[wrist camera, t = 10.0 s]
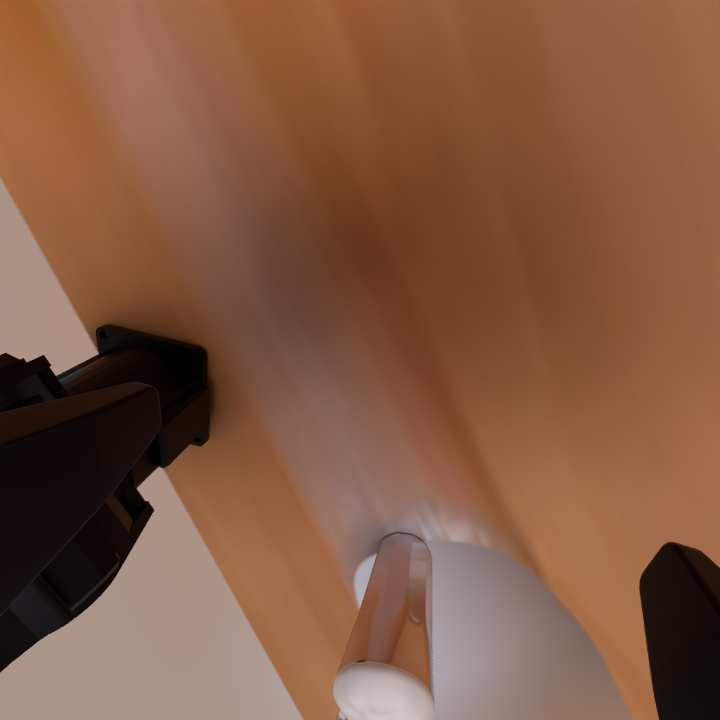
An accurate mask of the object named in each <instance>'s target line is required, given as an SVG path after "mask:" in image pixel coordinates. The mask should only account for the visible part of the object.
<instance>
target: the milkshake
mask: <svg viewBox="0 0 720 720" xmlns="http://www.w3.org/2000/svg"><path fill="white" fill-rule="evenodd" d="M432 618H433V615H432V556H431V553H430V551H429V549H428V546H427V544H426V543H424V542H423V541H421V540H420V539H418V538H417V537H415V536H414V535H408V534H401V533H395V534H393V535H390V536H388V537H386V538H383V540H382V543H381V545H380V548H379V550H378V553H377V556H376V559H375V563H374V566H373V569H372V572H371V575H370V579H369V582H368V585H367V588H366V591H365V595H364V598H363V601H362V604H361V607H360V611H359V614H358V617H357V620H356V622H355V624H354V627H353V629H352V632H351V635H350V638H349V641H348V643H347V646H346V649H345V652H344V655H343V658H342V661H341V664H340V666H339V669H338V672H337V675H336V678H335V681H334V686H333V693H334V698H335V700H336V703H337V704H338V706H339V708H340V709H341V710H340V712H339V714H338V716H337V718H336V720H345V719H346V717H347V719H348V720H433V717H434V674H433V639H432V635H433V634H432V632H433V625H432V624H433V619H432Z"/></svg>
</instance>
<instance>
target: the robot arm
mask: <svg viewBox="0 0 720 720" xmlns="http://www.w3.org/2000/svg"><path fill="white" fill-rule="evenodd" d="M105 332H106V333H105ZM106 334H107V335H108V336H107V335H106ZM96 337H97V344H98V350H99V354H98V355H96V356H94V357H92V358H90V359H89V360H86V361H85V362H83V363H81V364H79V365H77V366H75V367H73V368H71V369H69V370H67V371H65V372H63V373H61V374H59V375H57V376H55V374H54V373H53V371H52V370H51V369H50V366H51V364H50V363H49V362H48V360H47V359H46V357H45V356H44V355H43V356H40V357H38V358H36V359H34V360H32V361H29V362H26V361H25V359H24V358H23V359H20V360H19V359H17V358H15V357H13V356H11V355H9V354H7V353H4V354H2V355H0V672H1V671H2V670H4V669H5V668H6V667H7V666H8V665H9V664H10V663H11V662H13V661H14V660H15V659H16V658H18V657H19V656H20V655H22V654H23V653H24V652H25V651H26V650H28V649H29V648H30V647H32V646H33V645H34V644H35V643H37V642H38V641H39V640H41V639H42V638H44V637H45V636H47V635H48V634H50V633H52V632H54V631H56V630H58V629H60V628H61V627H63V626H65V625H66V624H68V623H69V622H70V621H72V620H73V619H74V618H76V617H77V616H78V615H80V614H81V613H82V612H83V611H84V610H86V609H87V608H88V607H89V606H90V605H91V604H92V603H94V601H96V599H98V597H100V596H101V594H102V593H103V592H104V591H105V590H106V589H107V588H108V586H109V585H110V584H111V583H112V581H113V580H114V578H115V576H116V575H117V574H118V572H119V570H120V568H121V567H122V565H123V563H124V562H125V560H126V558H127V556H128V555H129V553H130V551H131V550H132V548H133V546H134V544H135V543H136V541H137V539H138V537H139V536H140V534H141V532H142V531H143V529H144V527H145V525H146V524H147V522H148V520H149V519H150V517H151V515H152V513H153V512H154V509H153V507H152V506H151V505H150V503H149V502H148V501H145V500H144V499H143V497H142V496H141V494H140V493H139V492H138V490H137V489H136V488H137V487H138V486H139V485H140V484H141V483H142V482H143V481H144V480H145V479H146V478H147V477H148V476H149V475H150V474H151V473H153V471H155V470H156V469H157V468H158V467H161V468H165V467H167V466H168V465H170V464H171V463H172V462H173V461H174V460H175V459H176V458H177V457H178V456H179V455H180V454H181V453H182V452H183V451H184V450H185V448H186V447H187V446H188V445H189V444H193V445H196V446H203V445H204V444H205V443H206V442H207V440H208V438H209V433H208V425H209V424H210V407H209V388H208V386H207V357H206V353H205V351H204V350H203V349H202V348H201V347H199V346H195V345H191V344H187V343H182V342H178V341H174V340H170V339H166V338H161V337H157V336H153V335H149V334H145V333H141V332H136V331H132V330H128V329H124V328H120V327H115V326H111V325H103V326H101V327H99V328H97V330H96ZM194 353H195V354H196V355H197V356H198V358H196V357H195V356H194ZM198 436H199V437H200V438H201V439H200V438H199V437H198ZM639 589H640V598H641V605H642V613H643V620H644V628H645V636H646V643H647V651H648V658H649V666H650V673H651V680H652V686H653V692H654V698H655V703H656V707H657V712H658V716H659V720H720V568H719V567H718V566H717V565H716V564H715V563H714V562H713V561H712V560H711V559H710V558H708V557H707V556H706V555H705V554H704V553H703V552H701V551H700V550H698V549H695V548H692V547H689V546H685V545H682V544H678V543H675V542H668V543H666V544H664V545H663V546H662V547H661V548H660V550H659V551H658V552H657V554H656V555H655V557H654V558H653V559H652V561H651V562H650V563H649V565H648V566H647V567H646V569H645V570H644V572H643V573H642V575H641V578H640V585H639Z"/></svg>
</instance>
